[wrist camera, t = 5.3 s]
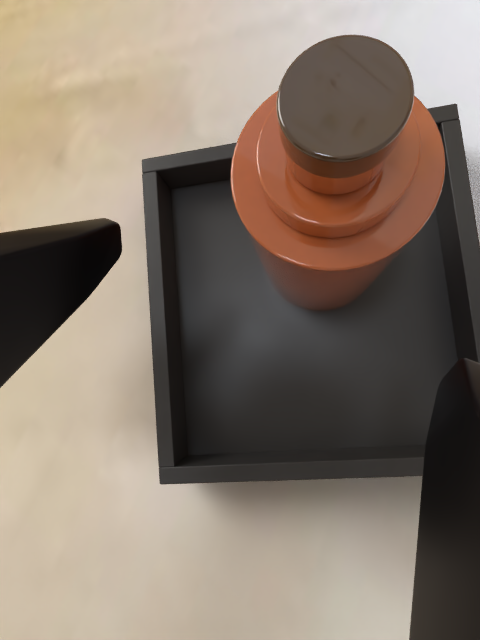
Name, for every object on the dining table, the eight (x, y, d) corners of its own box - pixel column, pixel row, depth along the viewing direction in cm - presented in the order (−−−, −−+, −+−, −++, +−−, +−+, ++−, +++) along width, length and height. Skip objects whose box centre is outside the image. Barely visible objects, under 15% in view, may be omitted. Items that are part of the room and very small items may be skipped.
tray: (484, 455, 18) (516, 473, 16) (178, 468, 21) (159, 484, 18) (436, 137, 20) (457, 102, 17) (160, 182, 23) (141, 159, 20)
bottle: (385, 304, 19) (528, 213, 7) (268, 316, 20) (213, 254, 8) (371, 192, 20) (477, -70, 8) (259, 209, 21) (194, -1, 9)
